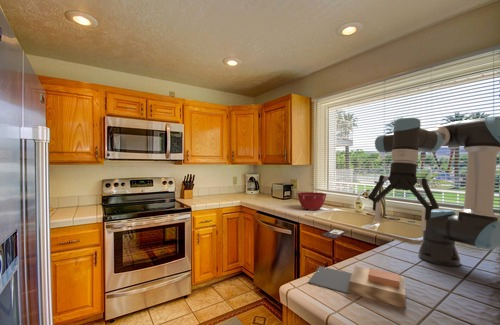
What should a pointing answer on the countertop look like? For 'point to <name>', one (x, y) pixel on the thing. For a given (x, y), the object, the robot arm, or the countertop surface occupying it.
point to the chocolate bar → (333, 234)
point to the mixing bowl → (311, 200)
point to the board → (376, 288)
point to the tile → (383, 277)
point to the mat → (331, 279)
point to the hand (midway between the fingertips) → (398, 225)
